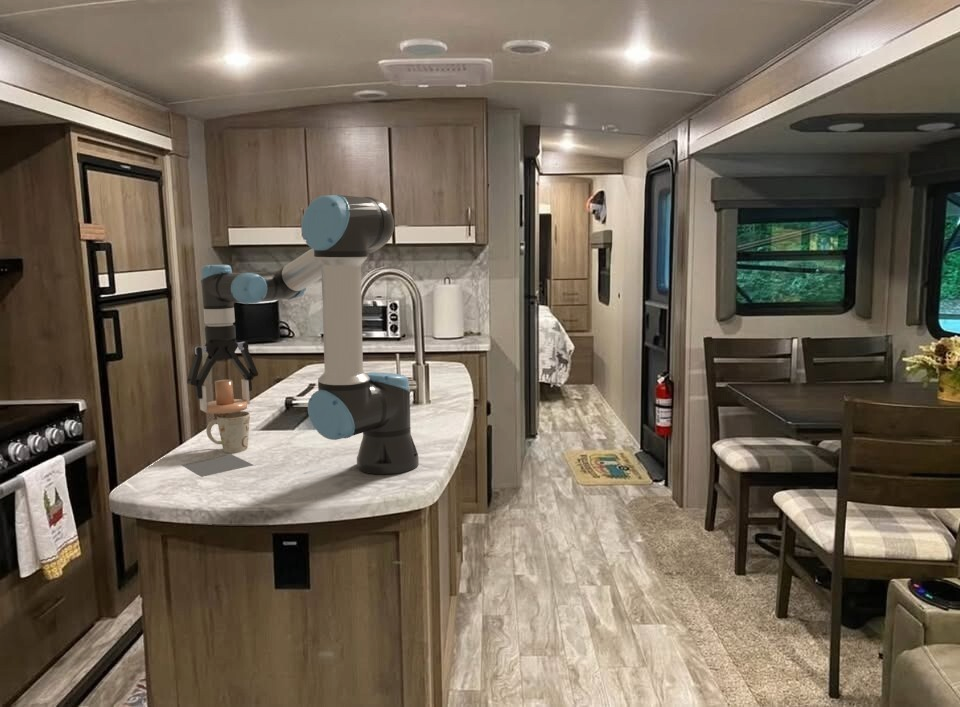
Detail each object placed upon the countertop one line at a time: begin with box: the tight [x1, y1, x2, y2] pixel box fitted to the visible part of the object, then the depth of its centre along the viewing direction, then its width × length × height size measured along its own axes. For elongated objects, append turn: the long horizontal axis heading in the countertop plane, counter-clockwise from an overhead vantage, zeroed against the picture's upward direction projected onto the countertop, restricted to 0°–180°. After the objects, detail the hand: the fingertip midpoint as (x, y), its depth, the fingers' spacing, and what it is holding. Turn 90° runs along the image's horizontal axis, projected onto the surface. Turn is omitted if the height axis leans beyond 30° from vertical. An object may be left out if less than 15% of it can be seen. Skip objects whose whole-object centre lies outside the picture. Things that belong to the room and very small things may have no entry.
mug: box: [206, 410, 251, 454], centre depth 198 cm, size 8×13×10 cm, turn 78°
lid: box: [204, 379, 248, 415], centre depth 196 cm, size 11×11×8 cm
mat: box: [181, 453, 254, 478], centre depth 184 cm, size 13×13×1 cm
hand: (225, 407), depth 197 cm, fingers closed on lid, 11 cm apart
